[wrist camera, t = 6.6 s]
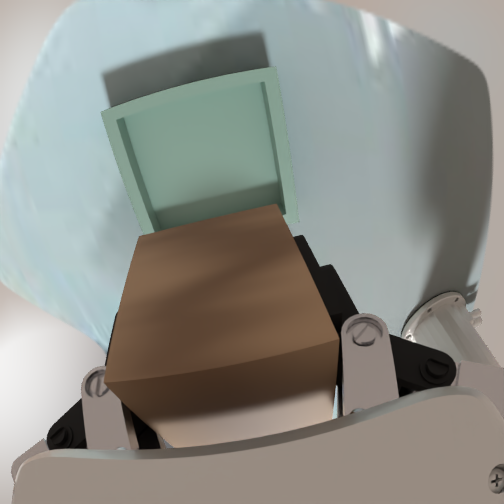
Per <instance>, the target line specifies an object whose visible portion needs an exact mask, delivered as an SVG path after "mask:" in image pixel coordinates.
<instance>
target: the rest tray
mask: <svg viewBox="0 0 504 504" xmlns="http://www.w3.org/2000/svg"><path fill="white" fill-rule="evenodd" d="M101 115H102V119H103V122H104V125H105V128H106V132H107V135H108V138H109V141H110V144H111V147H112V150H113V153H114V156H115V159H116V162H117V165H118V168H119V171H120V174H121V177H122V179H123V182H124V185H125V188H126V190H127V193H128V196H129V198H130V201H131V204H132V206H133V209H134V212H135V214H136V217H137V219H138V222H139V224H140V227H141V229H142V232H143V234H144V235H146V234H150V233H154V232H158V231H162V230H166V229H170V228H173V227H177V226H182V225H186V224H190V223H194V222H198V221H202V220H206V219H210V218H215V217H219V216H223V215H227V214H232V213H236V212H240V211H245V210H249V209H254V208H258V207H263V206H267V205H272V204H277V205H278V207H279V209H280V211H281V213H282V215H283V217H284V220H285V222H286V224H287V225H288V224H293V223H297V222H299V216H298V208H297V200H296V192H295V184H294V177H293V169H292V162H291V155H290V148H289V141H288V135H287V128H286V122H285V115H284V109H283V103H282V97H281V91H280V86H279V80H278V74H277V69H276V67H266V68H259V69H253V70H247V71H241V72H236V73H231V74H226V75H221V76H216V77H212V78H207V79H203V80H199V81H195V82H191V83H187V84H183V85H179V86H176V87H172V88H169V89H165V90H162V91H158V92H155V93H152V94H149V95H146V96H143V97H140V98H137V99H134V100H131V101H128V102H125V103H122V104H119V105H117V106H114V107H111V108H109V109H107V110H104V111H102V112H101Z"/></svg>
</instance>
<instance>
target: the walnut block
mask: <svg viewBox="0 0 504 504" xmlns="http://www.w3.org/2000/svg"><path fill="white" fill-rule="evenodd" d="M338 352H339V337H338V334H337V332H336V330H335V328H334V325H333V323H332V321H331V318H330V316H329V314H328V312H327V309H326V307H325V305H324V303H323V301H322V298H321V296H320V294H319V292H318V289H317V287H316V285H315V283H314V281H313V279H312V276H311V274H310V272H309V270H308V268H307V266H306V263H305V261H304V259H303V257H302V255H301V253H300V251H299V249H298V247H297V244H296V242H295V240H294V238H293V236H292V234H291V232H290V230H289V228H288V226H287V224H286V222H285V220H284V217H283V215H282V213H281V211H280V209H279V207H278V205H277V204H272V205H267V206H263V207H258V208H254V209H249V210H245V211H240V212H236V213H232V214H227V215H223V216H219V217H215V218H210V219H206V220H202V221H198V222H194V223H190V224H186V225H182V226H177V227H173V228H170V229H166V230H162V231H158V232H154V233H150V234H146V235H142V236H139V238H138V241H137V244H136V248H135V251H134V254H133V258H132V261H131V265H130V268H129V272H128V275H127V279H126V282H125V286H124V290H123V294H122V298H121V302H120V306H119V310H118V314H117V318H116V322H115V327H114V331H113V336H112V340H111V345H110V350H109V355H108V360H107V365H106V371H105V376H104V382H103V383H104V384H105V385H106V386H107V387H108V388H109V389H110V390H111V391H112V392H113V393H114V394H115V395H116V396H117V397H118V398H119V399H120V400H121V401H122V402H123V403H124V404H125V405H126V406H127V407H128V408H129V409H130V410H131V411H132V412H134V413H135V414H136V415H137V416H138V417H139V418H140V419H141V420H142V421H143V422H145V423H146V424H147V425H148V426H149V427H150V428H151V429H153V430H154V431H155V432H156V433H157V434H158V435H160V436H161V437H162V438H163V439H164V440H166V441H167V442H168V443H170V444H171V445H172V446H173V447H174V448H181V447H192V446H202V445H211V444H219V443H226V442H233V441H239V440H245V439H251V438H257V437H262V436H267V435H272V434H277V433H282V432H286V431H290V430H295V429H299V428H303V427H307V426H311V425H315V424H318V423H322V422H326V421H329V420H332V415H333V407H334V398H335V388H336V377H337V366H338Z"/></svg>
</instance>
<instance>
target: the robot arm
mask: <svg viewBox="0 0 504 504" xmlns="http://www.w3.org/2000/svg"><path fill="white" fill-rule="evenodd" d="M293 238H294V240H295V242H296V244H297V247H298V249H299V251H300V253H301V255H302V257H303V259H304V261H305V263H306V266H307V268H308V270H309V272H310V274H311V276H312V279H313V281H314V283H315V285H316V287H317V289H318V292H319V294H320V296H321V298H322V301H323V303H324V305H325V307H326V309H327V312H328V314H329V316H330V318H331V321H332V323H333V325H334V328H335V330H336V332H337V334H338V337H339V352H338V366H337V377H336V385H337V418H336V419H333V420H329V421H326V422H322V423H318V424H315V425H311V426H307V427H303V428H299V429H295V430H290V431H286V432H282V433H277V434H272V435H267V436H262V437H257V438H251V439H245V440H239V441H233V442H226V443H219V444H211V445H202V446H192V447H181V448H167V449H166V446H165V443H164V440H163V438H162V437H161V436H160V435H158V434H157V433H156V432H155V431H154V430H153V429H151V428H150V427H149V426H148V425H147V424H146V423H145V422H143V421H142V420H141V419H140V418H139V417H138V416H137V415H136V414H135V413H134V412H132V411H131V410H130V409H129V408H128V407H127V406H126V405H125V404H124V403H123V402H122V401H121V400H120V399H119V398H118V397H117V396H116V395H115V394H114V393H113V392H112V391H111V390H110V389H109V388H108V387H107V386H106V385H105V384H104V383H103V382H104V376H105V371H106V365H107V360H108V355H109V350H110V345H111V340H112V336H113V331H114V327H115V322H116V318H117V314H118V312H117V313H116V316H115V320H114V324H113V329H112V333H111V338H110V342H109V347H108V352H107V357H106V362H105V366H100V367H96V368H94V369H92V370H91V371H90V372H89V373H88V374H87V375H86V376H85V377H84V379H83V382H82V387H81V394H82V398H81V399H80V400H79V401H78V402H77V403H76V404H75V405H74V406H73V407H72V408H70V409H69V410H68V411H67V412H66V413H65V414H64V415H63V416H62V417H61V418H60V419H59V420H58V421H57V422H56V423H54V424H53V426H52V427H51V428H50V430H49V432H48V435H47V440H45V439H42V440H41V441H39V442H38V443H37V444H35V445H34V446H33V447H32V448H30V449H29V450H28V451H26V452H25V453H24V454H22V455H21V456H20V457H18V458H17V459H16V460H15V461H14V462H13V465H12V470H11V473H12V477H13V480H14V483H15V484H14V489H13V496H12V504H504V368H502V367H500V365H499V364H498V362H497V361H496V359H495V357H494V356H493V354H492V353H491V351H490V350H489V348H488V347H487V345H486V344H485V343H484V341H483V340H482V338H481V337H480V335H479V334H478V332H477V331H476V330H475V327H478V326H480V325H481V324H482V319H481V317H480V315H481V311H480V309H475V310H473V311H472V312H468V310H467V309H466V302H465V299H464V298H463V297H462V295H461V294H460V293H457V292H448V293H444V294H441V295H439V296H437V297H435V298H433V299H432V300H430V301H429V302H427V303H426V304H425V305H423V306H422V307H421V308H420V309H419V310H418V311H417V312H416V313H415V314H414V315H413V316H412V317H411V318H410V320H409V321H408V323H407V324H406V326H405V328H404V330H403V332H402V335H401V338H400V337H397V336H394V335H391V334H389V332H388V328H387V326H386V324H385V322H384V321H383V320H382V319H381V318H379V317H377V316H375V315H372V314H365V313H362V314H359V313H358V311H357V309H356V307H355V305H354V303H353V301H352V299H351V298H350V296H349V294H348V292H347V290H346V288H345V287H344V285H343V283H342V281H341V279H340V278H339V276H338V274H337V272H336V270H335V269H334V267H333V266H332V265H331V264H329V265H325V266H321V267H320V266H319V264H318V262H317V260H316V258H315V257H314V255H313V253H312V251H311V249H310V247H309V245H308V243H307V241H306V239H305V237H304V236H303V235H299V236H295V237H293Z"/></svg>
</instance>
